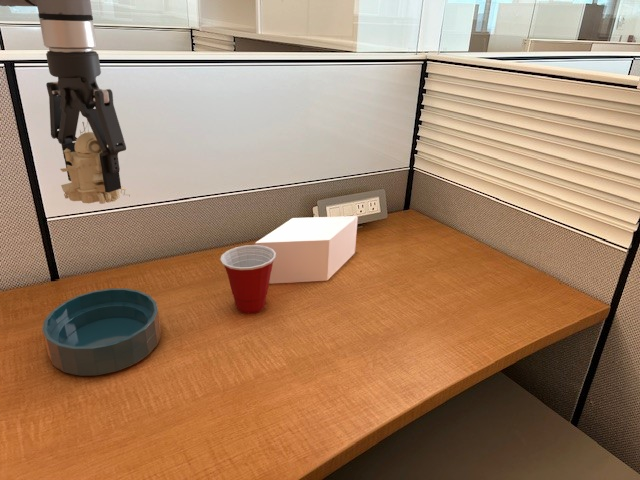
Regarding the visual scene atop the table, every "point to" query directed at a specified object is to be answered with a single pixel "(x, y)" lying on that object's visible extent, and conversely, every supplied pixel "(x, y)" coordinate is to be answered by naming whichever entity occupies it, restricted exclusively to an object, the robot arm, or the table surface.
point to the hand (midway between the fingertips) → (94, 184)
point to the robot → (86, 172)
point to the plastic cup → (249, 275)
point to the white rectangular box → (310, 248)
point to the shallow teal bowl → (102, 331)
